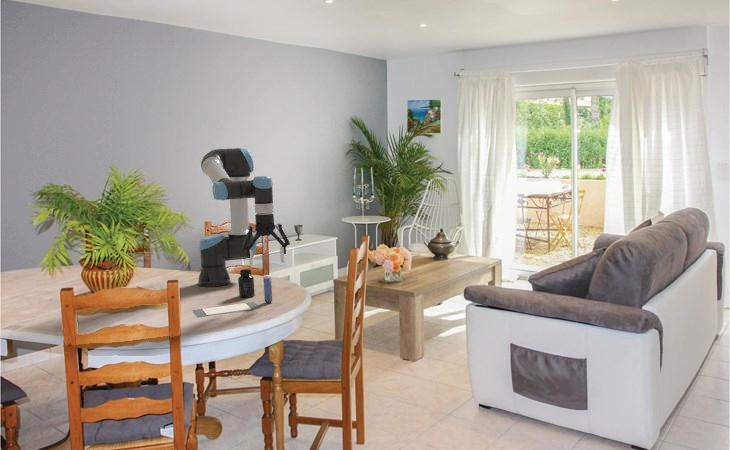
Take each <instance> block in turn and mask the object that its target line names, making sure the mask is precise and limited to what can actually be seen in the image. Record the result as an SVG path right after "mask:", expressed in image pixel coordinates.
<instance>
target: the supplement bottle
mask: <svg viewBox="0 0 730 450" xmlns="http://www.w3.org/2000/svg"><path fill="white" fill-rule="evenodd" d="M239 275H240V276H239V277H238V278H237V279H238V280H237V281H238V284H237V285H238V294H239V295H238V297H239V298H241V299H250V298H254V297H255V296H256V292H255V291H256V289H255V279H254V278H255V276H253V275H252V270H251V269H247V268H246V269H241V270H239Z"/></svg>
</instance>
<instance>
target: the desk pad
mask: <svg viewBox="0 0 730 450" xmlns="http://www.w3.org/2000/svg"><path fill="white" fill-rule="evenodd" d="M245 303H246V304H247V305H248V306H249V307H250V308H251V309H249V310H242V311H235V312H228V313H221V314H214V315H206V313H205V312H204V311H203V310H202V309H203V308H198V309H191V311H192V313H193V314H194V315H195V317H196V318H197V319H198V318H205V317H210V316H211V317H212V316H217V315H218V316H219V315H227V314H233V313H234V314H235V313H239V312H247V311H253V310H255V311H256V310H259V309H262V307H261V306H260V305H258V304H257V303H256V302H255V301H249V302H245ZM235 304H236V303H235ZM235 304H233V305H235ZM240 304H242V303H240ZM226 306H228V305H226ZM218 307H221V306H218ZM211 308H213V306H212V307H211ZM204 309H206V307H205V308H204Z"/></svg>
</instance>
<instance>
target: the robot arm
mask: <svg viewBox="0 0 730 450" xmlns="http://www.w3.org/2000/svg"><path fill="white" fill-rule="evenodd" d="M200 166H201V170H202V172H203V173H204V174H205V175H206V176H207V177H208V178H209V179H210V181H211V183H212V195H213V198H214V200H216V201H227V200H229V212H230V230H229V231H228V233H227V236H225V235H224V234H223V233H221V234H219V233H218V234H211V235H206V236H204V237H202V238H201V239H200V240H199V252H200V254H199V257H200V271H199V275H198V280H197V282H198V283H197V284H198V286H200V287H208V288H209V287H212V288H213V287H221V286H225V285H228V284H230V283H231V276H230V275H229V271H228V269H227V264H226V262H227V261H228V262H229V261H237V260H239V261H240V260H247V259H248V265H249V266H250V267H254V264H253V262H254V261H253V257H254V256H255V254H256V251H257V242H258V239H260V237H266V236H268V237H269V236H272V238H274V239H275V240H276V241H277V242H278V243H279V244H280V246H279V254H280V263H283V264H284V263H285V255H286V254H287V247H288V246H290V244H291V242H290V240H289V239H288V237H287V235H286V233H285V232H284V230H283V226H282V224H281V223H277V224H275V218H274V216H275V215H274V195H273V185H274V184H273V180H272V179H273V178H272V176H269V175H259V176H258V175H257V176H254V177H253V179H250V180H249V178H250V177H251V173H253V172H254V169H255V167H254V160H253V156H252V153H251V151H250V150H249V149H248V148H245V147H244V148H243V147H242V148H241V147H236V148H216V149H213V150H211V151H208V152H207V153H206V154H204V155H203V157H202V160H201V162H200ZM249 199H254V213H255V216H254V217H255V225H254V226H251V225H250V222H249V221H250V220H249V219H250V218H249ZM275 229H276V230H277V232H279V234H280V237H282V239H281V238H280V237H279V236H278V234H276V232H275ZM254 231H255V232H256V233H255V234H253V232H254Z"/></svg>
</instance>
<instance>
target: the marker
mask: <svg viewBox="0 0 730 450" xmlns="http://www.w3.org/2000/svg"><path fill="white" fill-rule="evenodd" d="M262 277H263V290H264V291H263V295H264V302H265V305H267V304H272V302H273V287H272V286H273V284H272V275H271V274H266V275H265V274H264V275H263V276H262Z"/></svg>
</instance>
